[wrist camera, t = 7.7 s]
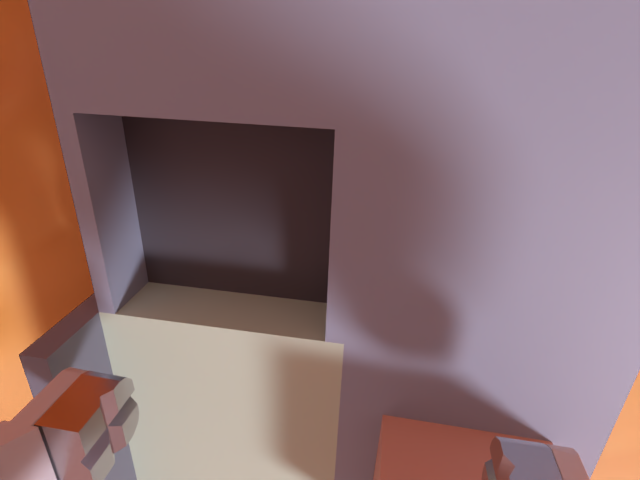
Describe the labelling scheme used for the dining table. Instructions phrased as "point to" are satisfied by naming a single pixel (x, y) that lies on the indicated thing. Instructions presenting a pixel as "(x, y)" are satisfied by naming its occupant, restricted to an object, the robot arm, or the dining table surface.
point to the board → (348, 223)
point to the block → (432, 450)
